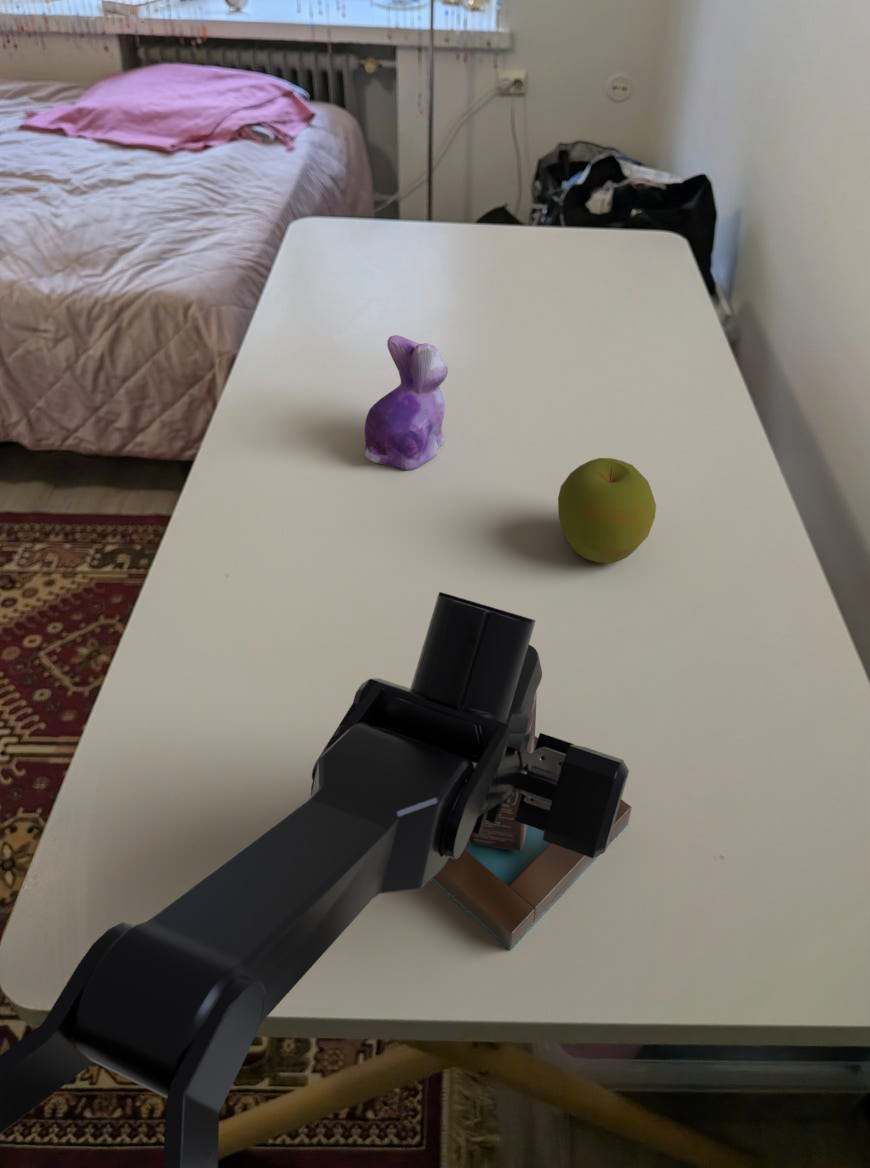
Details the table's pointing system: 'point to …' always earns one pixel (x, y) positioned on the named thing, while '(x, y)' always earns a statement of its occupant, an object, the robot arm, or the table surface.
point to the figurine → (409, 408)
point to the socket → (515, 880)
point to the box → (508, 810)
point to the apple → (606, 509)
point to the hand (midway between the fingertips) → (507, 752)
